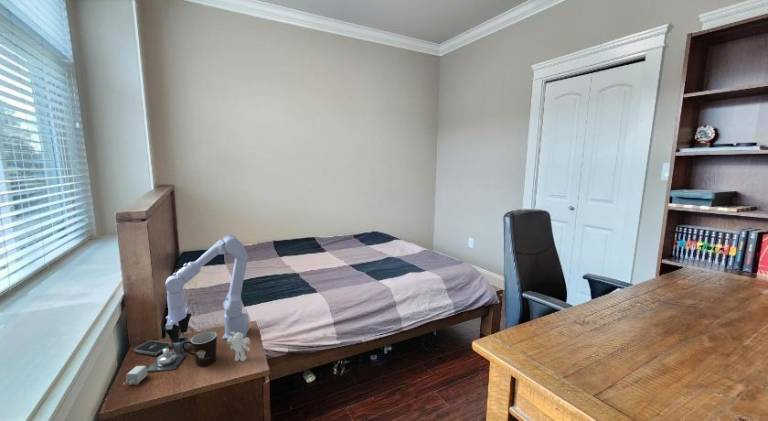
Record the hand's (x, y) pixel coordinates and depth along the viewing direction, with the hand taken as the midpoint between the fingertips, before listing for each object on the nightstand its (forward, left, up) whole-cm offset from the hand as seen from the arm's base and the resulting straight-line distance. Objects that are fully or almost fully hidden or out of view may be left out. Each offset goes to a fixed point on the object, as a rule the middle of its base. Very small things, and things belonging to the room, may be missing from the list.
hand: (179, 337), depth 131 cm
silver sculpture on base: (+1, +9, -5) cm, 10 cm away
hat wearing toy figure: (-26, +11, -6) cm, 29 cm away
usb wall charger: (+6, +19, -6) cm, 21 cm away
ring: (0, 0, -5) cm, 5 cm away
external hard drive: (+11, -1, -6) cm, 12 cm away
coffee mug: (-12, +10, -6) cm, 17 cm away
